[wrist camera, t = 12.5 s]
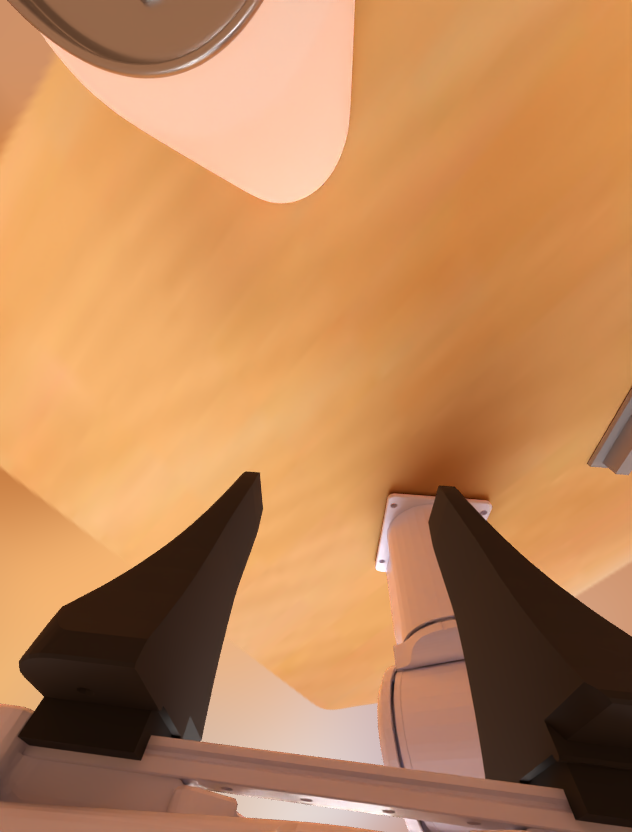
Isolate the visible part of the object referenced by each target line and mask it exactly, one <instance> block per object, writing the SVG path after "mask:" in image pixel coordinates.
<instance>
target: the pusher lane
mask: <svg viewBox="0 0 632 832" xmlns="http://www.w3.org/2000/svg"><path fill="white" fill-rule="evenodd" d="M588 465H589V466H590V467H603V468H609V469H610V470H612V471H613V472H614V473H615V474H623V475H629V474H630V472H631V471H632V389H631V390H630V392H629V394H628V395H627V397H626V399H625V401H624V402H623V404H622V406H621V407H620V409H619V411H618V413H617V414H616V416H615V418H614V419H613V421H612V423H611V425H610V426H609V428H608V430H607V431H606V433H605V435H604V436H603V438H602V440H601V442H600V443H599V445H598V447H597V448H596V450H595V452H594V454H593V455H592V457H591V459H590V460H589V462H588Z"/></svg>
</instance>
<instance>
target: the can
mask: <svg viewBox="0 0 632 832" xmlns="http://www.w3.org/2000/svg"><path fill="white" fill-rule="evenodd" d="M7 1H8V2H9V3H10V4H11V5H12V6H13V7H14V8H15V9H16V10H17V11H18V12H19V13H20V14H21V15H22V16H23V17H24V18H25V19H26V20H27V21H28V22H29V23H30V24H31V25H33V26H34V27H35V28H36V29H37V30H38V31H39V32H40V33H41V34H42V36H43V37H44V39H45V40H46V41H47V43H48V44H49V45H50V47H51V48H52V49H53V51H54V52H55V53H56V54H57V56H58V57H59V58H60V59H61V61H62V62H63V63H64V64H65V65H66V67H67V68H68V69H69V70H70V71H71V72H72V73H73V75H74V76H75V77H76V78H77V79H78V80H79V81H80V82H81V83H82V84H83V85H84V86H85V87H86V88H87V89H88V90H89V91H90V92H91V93H93V94H94V95H95V96H96V97H97V98H98V99H100V100H101V101H102V102H103V103H104V104H106V105H107V106H108V107H109V108H111V109H112V110H113V111H114V112H116V113H117V114H118V115H120V116H121V117H123V118H124V119H126V120H127V121H129V122H130V123H132V124H133V125H135V126H136V127H138V128H139V129H141V130H142V131H144V132H146V133H147V134H149V135H150V136H152V137H154V138H155V139H157V140H159V141H160V142H162V143H164V144H165V145H167V146H169V147H170V148H172V149H174V150H175V151H177V152H179V153H180V154H182V155H184V156H185V157H187V158H189V159H191V160H192V161H194V162H196V163H197V164H199V165H201V166H202V167H204V168H206V169H208V170H209V171H211V172H213V173H214V174H216V175H218V176H220V177H221V178H223V179H225V180H226V181H228V182H230V183H232V184H233V185H235V186H237V187H239V188H240V189H242V190H244V191H246V192H247V193H249V194H251V195H253V196H255V197H257V198H259V199H262V200H265V201H268V202H273V203H290V202H295V201H298V200H301V199H303V198H305V197H307V196H309V195H310V194H312V193H313V192H315V191H316V190H317V189H318V188H319V187H321V186H322V185H323V184H324V182H325V181H326V180H327V179H328V178H329V176H330V175H331V173H332V172H333V170H334V169H335V167H336V165H337V163H338V161H339V159H340V157H341V154H342V151H343V148H344V145H345V142H346V138H347V133H348V127H349V119H350V106H351V86H352V64H353V40H354V15H355V0H7Z"/></svg>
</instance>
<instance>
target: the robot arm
mask: <svg viewBox="0 0 632 832" xmlns="http://www.w3.org/2000/svg"><path fill="white" fill-rule="evenodd" d="M393 503H395V504H393ZM392 504H393V505H392ZM491 509H492V505H491V503H490V502H489V501H487V500H476V499H466V498H465V497H464V496H463V495H462V494H461V493H460V492H459V491H458V490H457V489H456V488H455V487H449V486H439V487H438V490H437V494H436V496H423V495H409V494H396V493H393V494H390V495H389V496H388V499H387V504H386V509H385V515H384V520H383V525H382V530H381V536H380V541H379V546H378V552H377V557H376V562H375V568H376V570H378V571H383V572H387V580H388V588H389V596H390V603H391V611H392V619H393V627H394V634H395V639H396V642H397V645H394V646H393V649H394V657H395V666H391V667H389V668H388V669H387V670H386V672H385V674H384V676H383V680H382V684H381V687H380V690H379V696H378V730H379V739H380V746H381V751H382V757H383V762H384V766H383V765H375V764H367V763H359V762H352V761H344V760H336V759H329V758H322V757H314V756H306V755H299V754H290V753H283V752H276V751H268V750H260V749H253V748H245V747H238V746H230V745H222V744H215V743H207V742H200V741H201V739H202V735H203V730H204V725H205V720H206V716H207V711H208V706H209V702H210V697H211V692H212V688H213V683H214V678H215V674H216V670H217V666H218V661H219V657H220V653H221V649H222V644H223V641H224V637H225V633H226V629H227V625H228V621H229V617H230V613H231V609H232V605H233V602H234V598H235V595H236V591H237V588H238V585H239V582H240V580H241V577H242V574H243V571H244V568H245V566H246V563H247V560H248V557H249V555H250V552H251V549H252V546H253V543H254V541H255V538H256V535H257V532H258V528H259V524H260V520H261V515H262V511H263V504H262V493H261V481H260V473H258V472H244V473H243V474H242V475H241V476H240V477H239V478H238V479H237V480H236V481H235V483H234V484H233V485H232V486H231V487H230V488H229V489H228V490H227V491H226V492H225V493H224V494H223V495H222V496H221V497H220V498H219V499H218V500H217V501H216V502H215V503H214V504H213V505H212V506H211V507H210V508H209V509H208V510H207V511H206V512H205V513H204V514H203V515H202V516H201V517H199V518H198V519H197V520H196V521H195V522H194V523H193V524H192V525H191V526H189V527H188V528H187V529H186V530H185V531H183V532H182V533H181V534H180V535H178V536H177V537H176V538H175V539H173V540H172V541H171V542H169V543H168V544H167V545H165V546H164V547H163V548H161V549H160V550H158V551H157V552H156V553H154V554H153V555H151V556H150V557H148V558H147V559H145V560H144V561H143V562H141V563H139V564H138V565H136V566H135V567H133V568H132V569H130V570H128V571H127V572H125V573H124V574H122V575H120V576H119V577H117V578H115V579H113V580H112V581H110V582H108V583H107V584H105V585H103V586H101V587H99V588H97V589H95V590H94V591H92V592H90V593H88V594H86V595H84V596H82V597H80V598H78V599H76V600H75V601H73V602H71V603H69V604H67V605H65V606H63V607H62V608H61V609H60V610H59V611H58V613H56V615H55V616H54V617H53V618H52V619H51V621H50V622H49V623H48V624H47V626H46V627H45V628H44V629H43V631H42V632H41V633H40V635H39V636H38V637H37V638H36V640H35V641H34V642H33V644H32V645H31V646H30V647H29V649H28V650H27V651H26V652H25V654H24V655H23V656H22V658H21V659H20V661H19V668H20V672H21V673H22V675H23V676H24V677H25V678H26V679H27V680H28V681H29V682H30V683H31V684H32V685H33V686H34V687H35V688H36V689H37V690H38V691H39V692H40V693H41V694H42V695H43V696H44V698H43V700H42V701H41V702H40V704H39V705H38V707H37V708H36V710H35V711H33V710H31V709H28V708H25V707H20V706H14V705H6V704H0V832H382V831H375V830H367V829H361V828H354V827H347V826H338V825H329V824H320V823H311V822H299V821H286V820H272V819H257V818H245V817H243V816H242V815H241V814H239V813H238V812H237V811H236V810H237V805H238V804H237V801H236V799H234V798H231V797H228V796H224V795H221V794H218V793H214V792H211V791H216V792H223V793H230V794H237V795H245V796H251V797H258V798H265V799H273V800H280V801H287V802H294V803H301V804H308V805H315V806H322V807H329V808H336V809H343V810H351V811H357V812H365V813H372V814H379V815H386V816H393V817H400V818H404V820H405V823H406V825H407V828H408V831H409V832H632V637H631V636H630V635H628V634H627V633H625V632H624V631H622V630H621V629H619V628H618V627H616V626H615V625H613V624H612V623H610V622H609V621H607V620H606V619H604V618H603V617H601V616H600V615H599V614H597V613H596V612H594V611H593V610H591V609H590V608H589V607H587V606H586V605H584V604H583V603H582V602H580V601H579V600H578V599H576V598H575V597H574V596H572V595H571V594H569V593H568V592H567V591H565V590H564V589H563V588H561V587H560V586H559V585H558V584H556V583H555V582H554V581H552V580H551V579H550V578H549V577H548V576H546V575H545V574H544V573H543V572H541V571H540V570H539V569H538V568H537V567H535V566H534V565H533V564H532V563H531V562H530V561H528V560H527V559H526V558H525V557H524V556H523V555H522V554H520V553H519V552H518V551H517V550H516V549H515V548H514V547H513V546H512V545H511V544H510V543H509V542H507V541H506V540H505V539H504V538H503V537H502V536H501V535H500V534H499V533H498V532H497V531H496V530H495V529H494V528H493V527H492V526H491V525H490V524H489V523H488V522H487V519H488V516H489V514H490V512H491ZM208 790H209V791H208Z"/></svg>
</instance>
